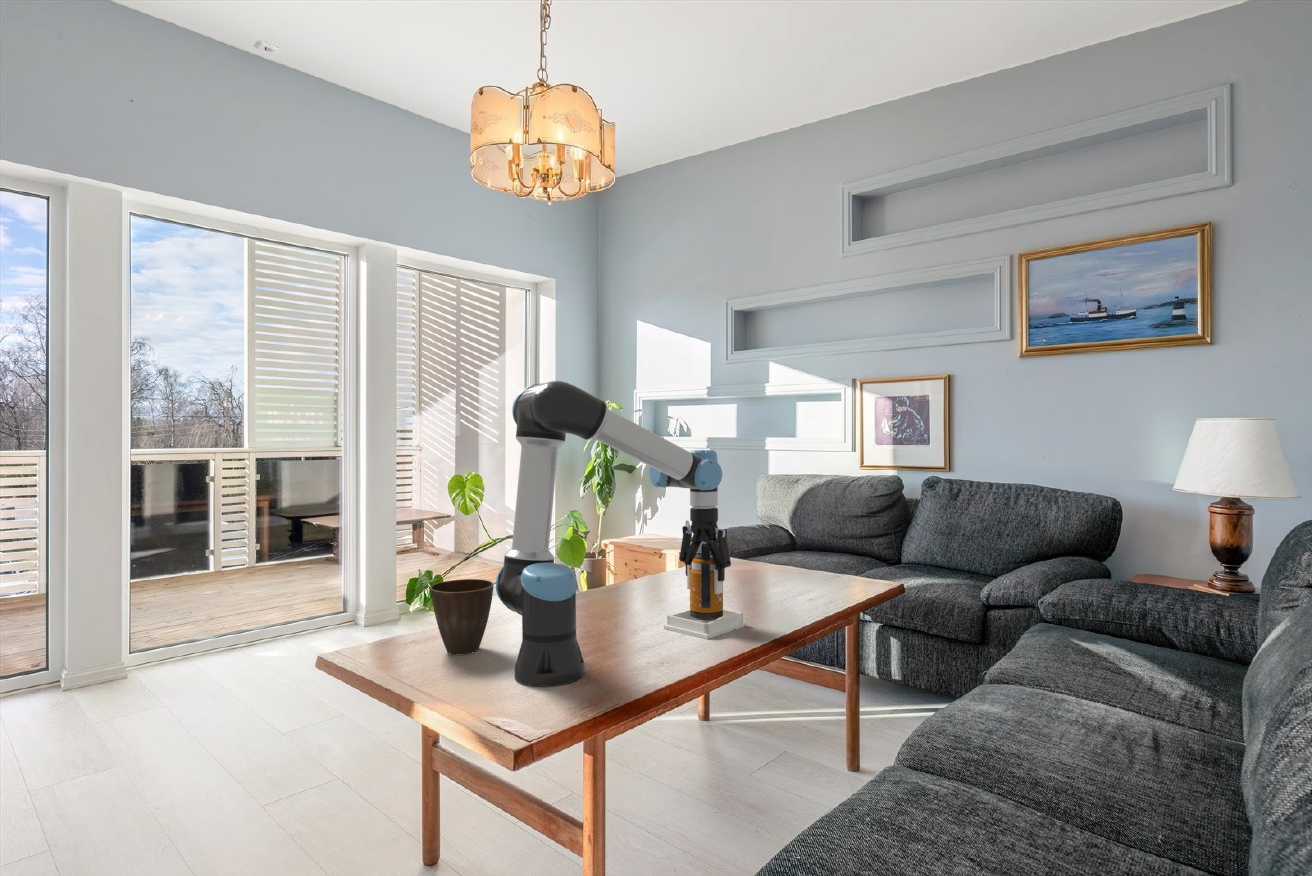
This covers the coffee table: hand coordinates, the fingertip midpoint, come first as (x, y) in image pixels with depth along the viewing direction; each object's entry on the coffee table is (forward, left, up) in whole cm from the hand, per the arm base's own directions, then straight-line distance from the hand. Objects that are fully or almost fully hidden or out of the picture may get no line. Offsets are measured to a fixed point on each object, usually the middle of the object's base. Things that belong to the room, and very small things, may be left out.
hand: (704, 590), depth 191 cm
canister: (0, -1, -8) cm, 8 cm away
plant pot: (-55, +31, -10) cm, 64 cm away
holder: (0, 0, -10) cm, 10 cm away
